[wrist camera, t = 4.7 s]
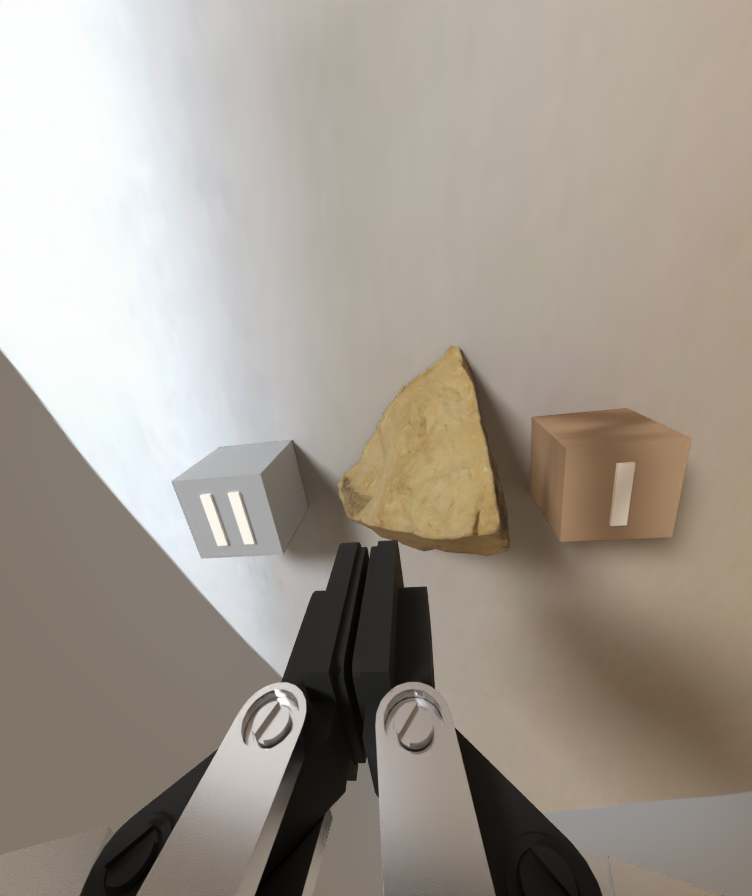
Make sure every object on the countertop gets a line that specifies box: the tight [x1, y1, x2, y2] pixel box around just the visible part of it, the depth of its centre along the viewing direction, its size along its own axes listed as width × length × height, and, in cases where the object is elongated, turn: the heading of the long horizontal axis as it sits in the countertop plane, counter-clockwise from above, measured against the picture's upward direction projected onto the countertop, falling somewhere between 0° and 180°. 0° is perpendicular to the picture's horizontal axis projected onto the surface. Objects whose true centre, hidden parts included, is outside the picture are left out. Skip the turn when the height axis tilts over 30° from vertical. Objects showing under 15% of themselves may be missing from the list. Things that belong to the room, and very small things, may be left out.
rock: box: [337, 346, 510, 556], centre depth 18 cm, size 11×9×10 cm
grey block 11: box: [171, 440, 308, 558], centre depth 21 cm, size 5×5×5 cm
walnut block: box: [530, 408, 692, 542], centre depth 18 cm, size 5×5×5 cm
